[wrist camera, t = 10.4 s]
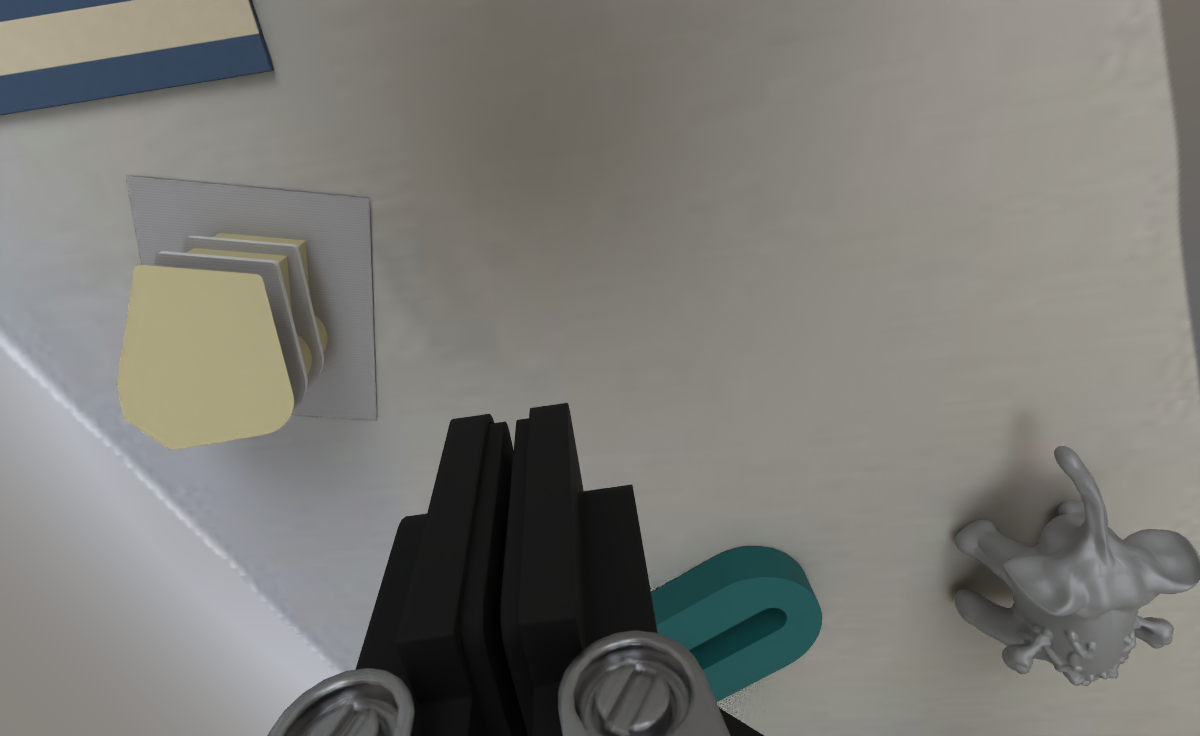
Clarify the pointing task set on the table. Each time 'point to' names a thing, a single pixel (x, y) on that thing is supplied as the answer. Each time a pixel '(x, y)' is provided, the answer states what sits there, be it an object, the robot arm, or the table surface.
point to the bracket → (740, 615)
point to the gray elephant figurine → (1076, 585)
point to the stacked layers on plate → (245, 311)
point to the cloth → (121, 48)
